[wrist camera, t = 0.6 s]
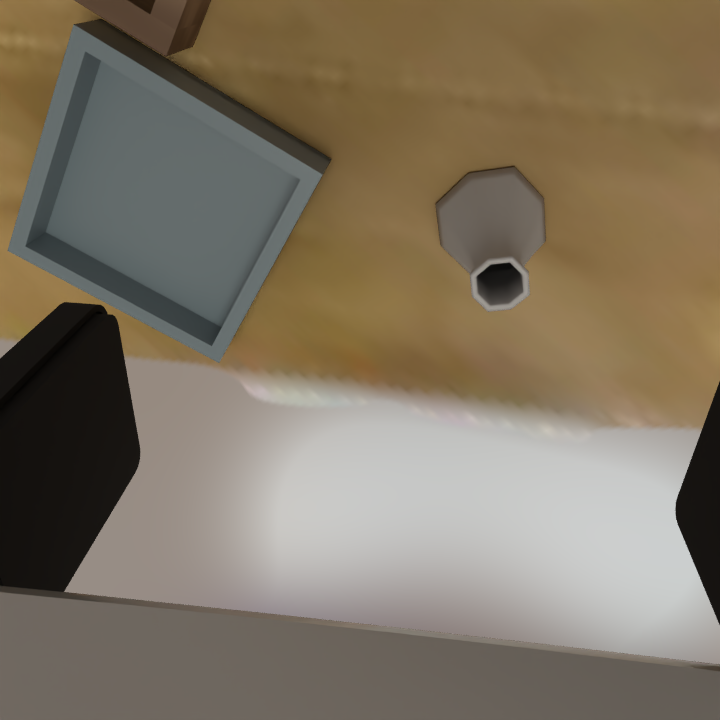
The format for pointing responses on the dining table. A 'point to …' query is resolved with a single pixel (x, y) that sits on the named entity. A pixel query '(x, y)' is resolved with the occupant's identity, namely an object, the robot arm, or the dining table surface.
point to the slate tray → (159, 190)
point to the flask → (493, 233)
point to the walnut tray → (155, 20)
